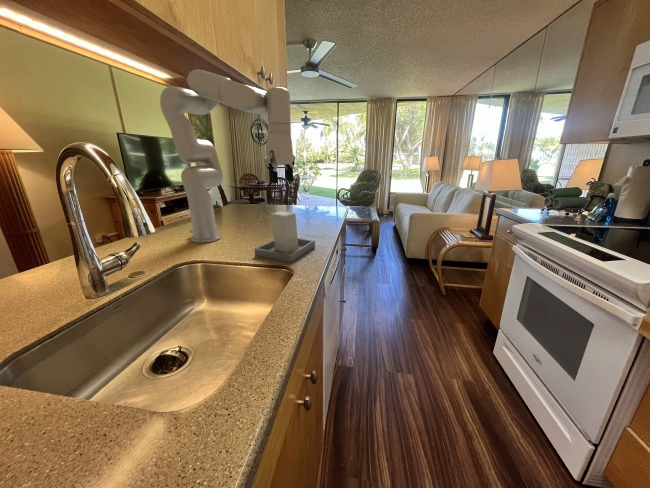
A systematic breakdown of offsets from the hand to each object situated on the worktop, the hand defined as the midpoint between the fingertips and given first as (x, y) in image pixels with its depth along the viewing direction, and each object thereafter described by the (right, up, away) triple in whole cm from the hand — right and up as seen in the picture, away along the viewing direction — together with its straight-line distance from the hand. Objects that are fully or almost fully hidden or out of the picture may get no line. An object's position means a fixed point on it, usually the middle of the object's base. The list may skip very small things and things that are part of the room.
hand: (281, 181), depth 95 cm
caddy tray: (0, -25, +9) cm, 27 cm away
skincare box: (0, -25, +8) cm, 26 cm away
